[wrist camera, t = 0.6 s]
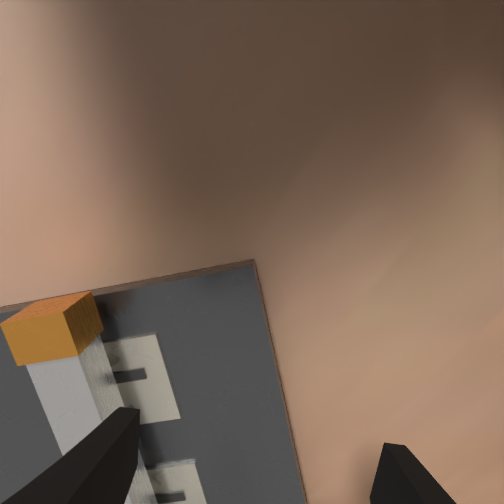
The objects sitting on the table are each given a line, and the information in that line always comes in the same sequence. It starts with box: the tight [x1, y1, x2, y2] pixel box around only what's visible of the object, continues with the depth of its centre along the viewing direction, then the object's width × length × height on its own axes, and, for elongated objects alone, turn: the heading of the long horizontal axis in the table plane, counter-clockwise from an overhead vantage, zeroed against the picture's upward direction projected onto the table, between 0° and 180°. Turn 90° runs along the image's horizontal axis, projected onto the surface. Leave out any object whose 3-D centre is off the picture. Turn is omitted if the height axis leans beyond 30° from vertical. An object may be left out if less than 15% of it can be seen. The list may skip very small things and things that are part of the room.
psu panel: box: [0, 259, 307, 504], centre depth 21 cm, size 18×21×2 cm
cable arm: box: [0, 291, 158, 504], centre depth 18 cm, size 21×3×4 cm, turn 12°
